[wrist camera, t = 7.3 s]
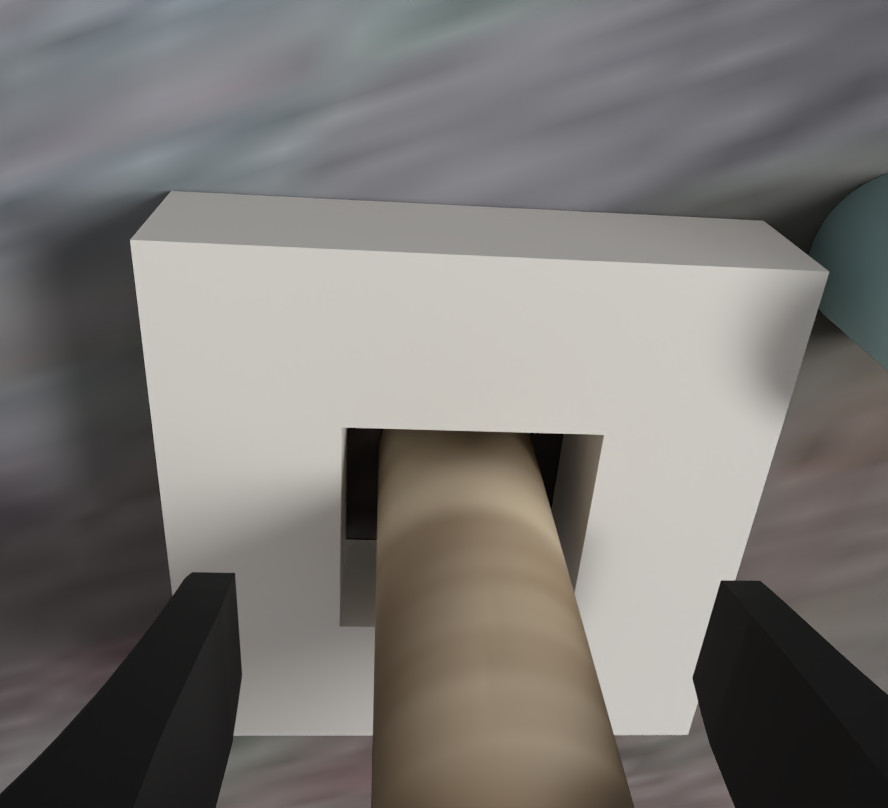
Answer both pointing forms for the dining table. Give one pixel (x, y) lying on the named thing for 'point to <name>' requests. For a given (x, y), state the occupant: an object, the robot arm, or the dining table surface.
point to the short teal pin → (857, 267)
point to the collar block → (463, 414)
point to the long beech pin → (480, 636)
